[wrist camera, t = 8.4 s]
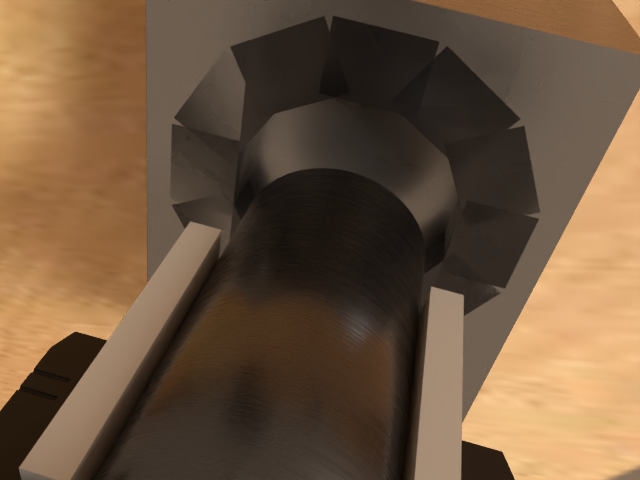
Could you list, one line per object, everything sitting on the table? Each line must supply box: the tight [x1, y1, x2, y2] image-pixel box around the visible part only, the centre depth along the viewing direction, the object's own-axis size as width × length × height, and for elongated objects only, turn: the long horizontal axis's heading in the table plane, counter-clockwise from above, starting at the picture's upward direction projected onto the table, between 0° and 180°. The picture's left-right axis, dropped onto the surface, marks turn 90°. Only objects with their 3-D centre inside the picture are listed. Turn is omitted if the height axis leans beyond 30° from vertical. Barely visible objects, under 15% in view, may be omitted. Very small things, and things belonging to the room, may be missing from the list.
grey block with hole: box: [146, 0, 640, 422], centre depth 20 cm, size 12×16×7 cm
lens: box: [93, 168, 425, 480], centre depth 12 cm, size 5×5×11 cm
